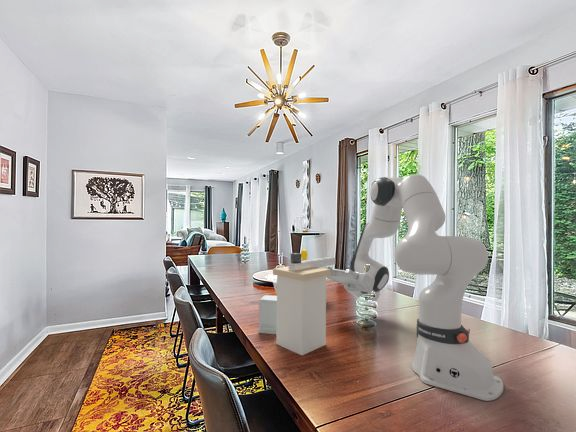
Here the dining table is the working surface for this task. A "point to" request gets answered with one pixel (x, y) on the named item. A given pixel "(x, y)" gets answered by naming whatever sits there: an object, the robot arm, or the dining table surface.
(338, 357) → the dining table surface
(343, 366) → the dining table surface
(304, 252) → the figure statuette
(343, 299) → the dining table surface
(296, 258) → the aluminium bar
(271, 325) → the supplement box
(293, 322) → the pedestal
